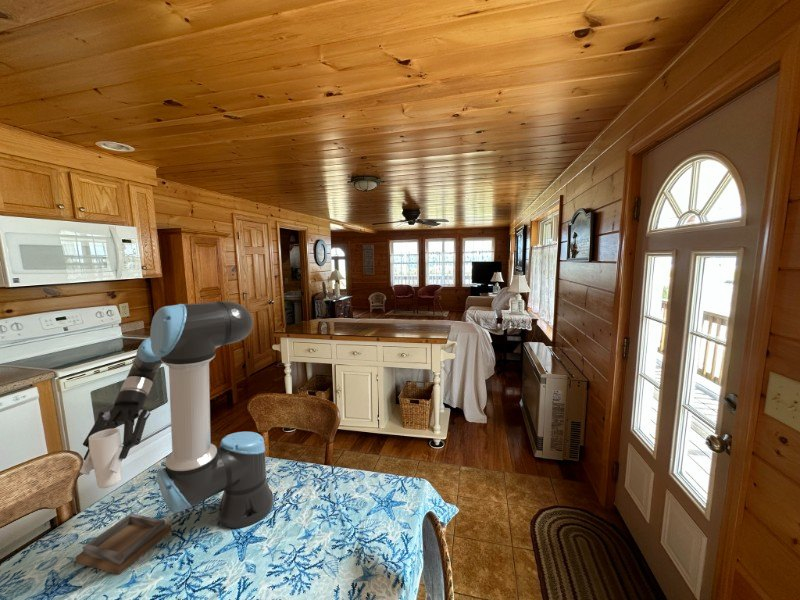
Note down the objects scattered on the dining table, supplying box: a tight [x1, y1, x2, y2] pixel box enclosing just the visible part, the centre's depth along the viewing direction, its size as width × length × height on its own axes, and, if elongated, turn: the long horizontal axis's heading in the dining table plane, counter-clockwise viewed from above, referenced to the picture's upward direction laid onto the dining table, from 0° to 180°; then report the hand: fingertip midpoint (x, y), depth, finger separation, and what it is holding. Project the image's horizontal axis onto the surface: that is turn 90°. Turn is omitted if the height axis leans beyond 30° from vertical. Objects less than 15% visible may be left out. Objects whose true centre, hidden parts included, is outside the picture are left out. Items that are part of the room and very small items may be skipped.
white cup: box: [89, 427, 123, 489], centre depth 95 cm, size 7×7×15 cm
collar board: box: [75, 512, 173, 575], centre depth 88 cm, size 14×14×4 cm
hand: (98, 472), depth 92 cm, fingers closed on white cup, 7 cm apart
